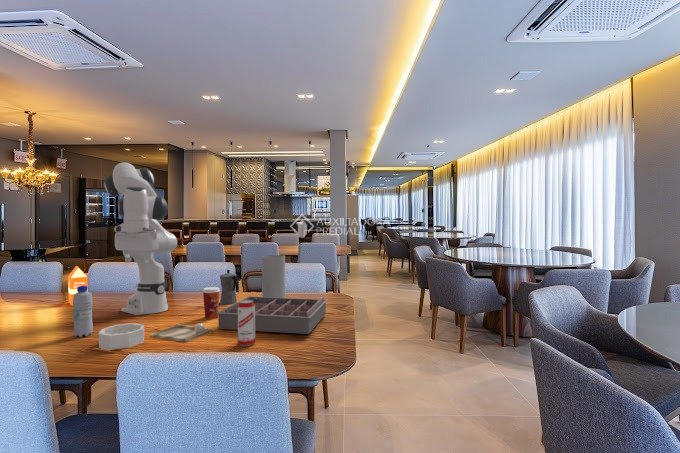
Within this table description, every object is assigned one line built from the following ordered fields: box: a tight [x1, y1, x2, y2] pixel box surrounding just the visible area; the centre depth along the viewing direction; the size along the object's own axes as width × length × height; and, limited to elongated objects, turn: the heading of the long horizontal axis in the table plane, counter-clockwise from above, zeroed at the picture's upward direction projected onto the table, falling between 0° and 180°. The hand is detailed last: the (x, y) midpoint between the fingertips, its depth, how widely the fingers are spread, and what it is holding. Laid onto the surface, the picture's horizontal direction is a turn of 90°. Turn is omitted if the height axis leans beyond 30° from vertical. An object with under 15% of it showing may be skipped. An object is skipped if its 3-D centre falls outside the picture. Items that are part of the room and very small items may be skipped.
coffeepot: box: [219, 269, 238, 305], centre depth 204 cm, size 15×9×18 cm, turn 43°
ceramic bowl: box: [98, 322, 145, 351], centre depth 140 cm, size 14×14×6 cm
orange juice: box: [67, 265, 89, 306], centre depth 204 cm, size 8×9×20 cm
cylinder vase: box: [261, 254, 286, 298], centre depth 209 cm, size 12×12×25 cm
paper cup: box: [202, 286, 221, 320], centre depth 174 cm, size 8×8×14 cm
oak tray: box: [150, 323, 213, 343], centre depth 150 cm, size 18×14×2 cm
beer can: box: [237, 299, 256, 347], centre depth 139 cm, size 6×6×16 cm
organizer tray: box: [216, 295, 328, 335], centre depth 166 cm, size 32×40×10 cm
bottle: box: [72, 285, 94, 338], centre depth 149 cm, size 7×7×20 cm
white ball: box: [194, 322, 206, 334], centre depth 150 cm, size 4×4×4 cm
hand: (137, 262), depth 149 cm, fingers open, 8 cm apart
